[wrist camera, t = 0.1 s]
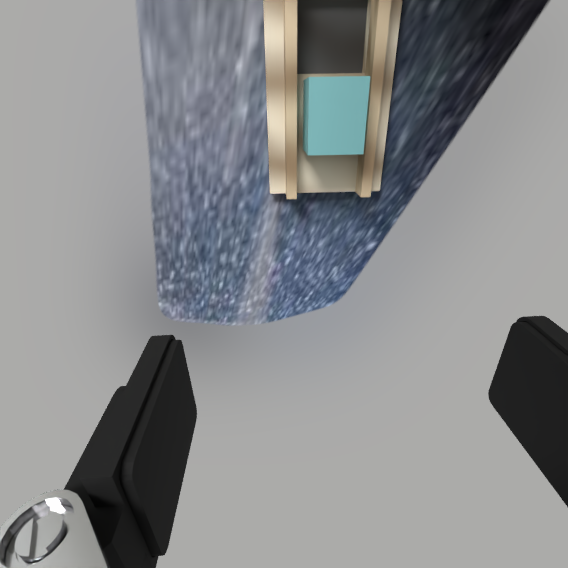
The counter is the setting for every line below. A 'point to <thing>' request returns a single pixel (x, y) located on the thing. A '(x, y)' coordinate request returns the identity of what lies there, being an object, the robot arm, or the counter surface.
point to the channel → (327, 63)
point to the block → (335, 114)
